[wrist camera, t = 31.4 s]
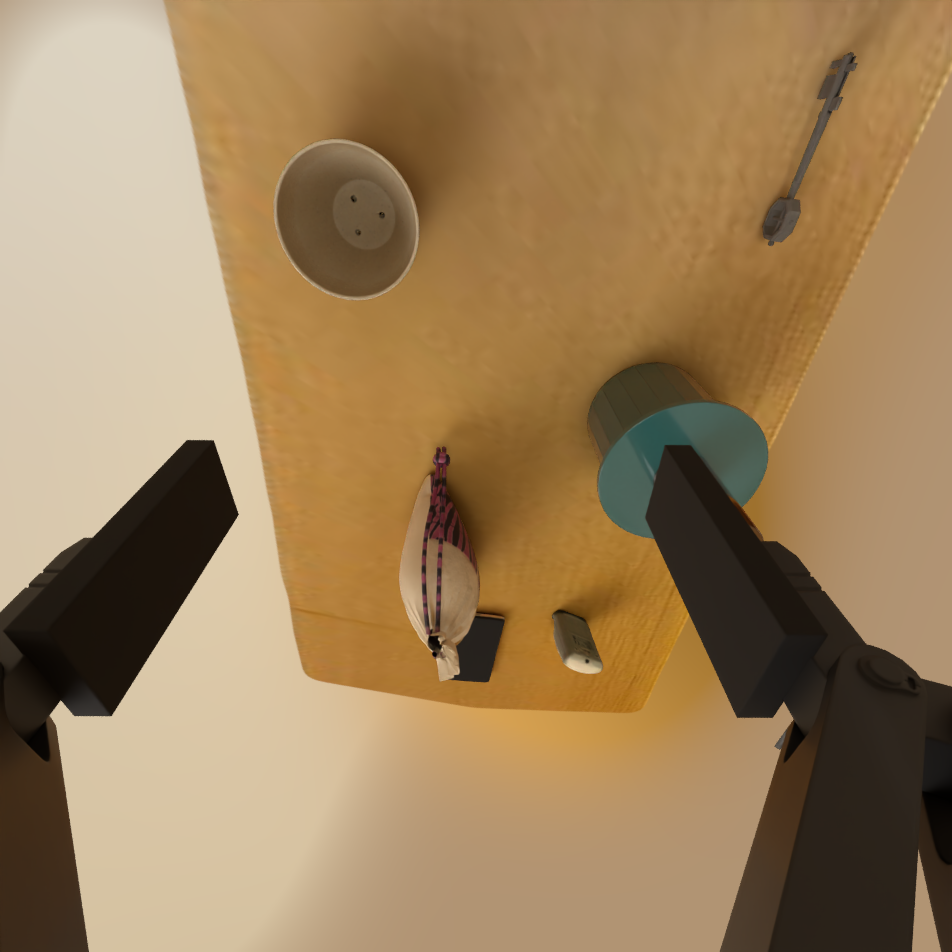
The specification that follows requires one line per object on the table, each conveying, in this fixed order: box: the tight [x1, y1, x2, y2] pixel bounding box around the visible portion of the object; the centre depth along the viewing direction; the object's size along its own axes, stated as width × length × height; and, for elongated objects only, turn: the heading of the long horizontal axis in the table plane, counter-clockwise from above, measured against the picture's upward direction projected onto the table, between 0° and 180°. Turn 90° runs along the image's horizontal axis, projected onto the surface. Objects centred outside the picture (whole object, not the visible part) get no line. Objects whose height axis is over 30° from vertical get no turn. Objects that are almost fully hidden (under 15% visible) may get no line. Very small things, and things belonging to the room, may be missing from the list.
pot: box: [587, 363, 713, 464], centre depth 46 cm, size 12×12×10 cm
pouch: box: [399, 447, 480, 681], centre depth 51 cm, size 25×8×19 cm, turn 8°
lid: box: [597, 399, 768, 541], centre depth 38 cm, size 14×14×10 cm
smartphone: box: [448, 613, 505, 682], centre depth 71 cm, size 7×1×15 cm
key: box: [763, 52, 858, 246], centre depth 36 cm, size 12×1×3 cm, turn 173°
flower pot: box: [274, 139, 420, 300], centre depth 36 cm, size 10×10×7 cm
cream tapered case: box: [552, 610, 603, 674], centre depth 65 cm, size 6×5×8 cm
